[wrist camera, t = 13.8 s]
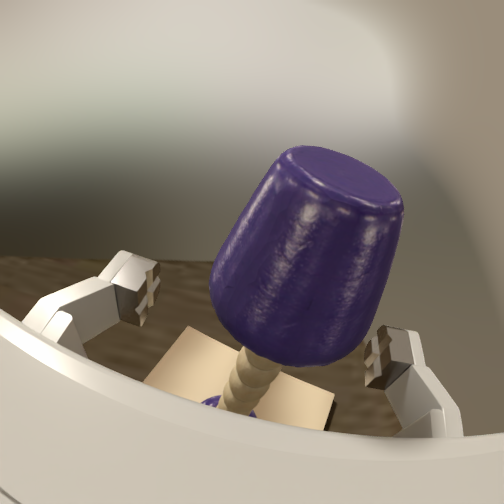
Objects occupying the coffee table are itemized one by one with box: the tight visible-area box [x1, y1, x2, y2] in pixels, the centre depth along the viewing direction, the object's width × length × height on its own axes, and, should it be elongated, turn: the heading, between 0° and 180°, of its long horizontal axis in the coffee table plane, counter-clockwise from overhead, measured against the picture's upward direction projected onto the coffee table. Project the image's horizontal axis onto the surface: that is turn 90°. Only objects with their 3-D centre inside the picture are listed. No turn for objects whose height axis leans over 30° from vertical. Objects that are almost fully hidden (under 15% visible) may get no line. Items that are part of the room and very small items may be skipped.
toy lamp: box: [201, 145, 404, 418], centre depth 11 cm, size 5×5×17 cm
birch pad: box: [143, 326, 335, 431], centre depth 16 cm, size 12×12×1 cm
